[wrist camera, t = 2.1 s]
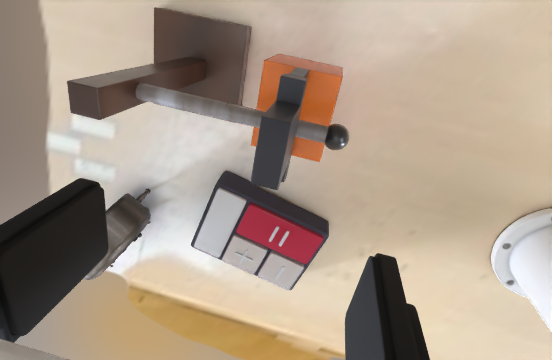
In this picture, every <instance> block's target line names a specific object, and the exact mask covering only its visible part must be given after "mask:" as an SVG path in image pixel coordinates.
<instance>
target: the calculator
mask: <svg viewBox="0 0 552 360" xmlns="http://www.w3.org/2000/svg"><path fill="white" fill-rule="evenodd" d="M328 236H329V224H328V221H326V220H324V219H322V218H320V217H318V216H316V215H314V214H312V213H310V212H307V211H305V210H303V209H301V208H299V207H297V206H295V205H293V204H290V203H288V202H286V201H284V200H282V199H280V198H278V197H276V196H274V195H271V194H269V193H267V192H265V191H263V190H261V189H259V188H257V187H256V186H255V185H254V184H251V182H249V181H247V180H245V179H243V178H241V177H239V176H237V175H235V174H233V173H230V172H228V171H225V172H224V173H223V174H222V176H221V177H220V179H219V180H218V182H217V184H216V185H215V188H214V190H213V192H212V195H211V197H210V200H209V202H208V204H207V207H206V209H205V212H204V214H203V216H202V219H201V221H200V223H199V226H198V228H197V231H196V233H195V235H194V238H193V240H192V243H191V246H192V247H194V248H196V249H198V250H200V251H202V252H205V253H207V254H209V255H211V256H214V257H216V258H218V259H220V260H222V261H224V262H226V263H228V264H230V265H232V266H235V267H237V268H239V269H241V270H243V271H246V272H248V273H250V274H254V275H256V276H258V277H259V278H261V279H264V280H266V281H268V282H270V283H272V284H275V285H277V286H279V287H281V288H284V289H286V290H292V289H293V287H294V286H295V284H296V283H297V281H298V280H299V279H300V277H301V276H302V274H303V273H304V271H305V270H306V268H307V267H308V266H309V264H310V263H311V261H312V260H313V258H314V257H315V256H316V254H317V253H318V251H319V250H320V248H321V247H322V245H323V244H324V243H325V241H326V240H327V238H328Z"/></svg>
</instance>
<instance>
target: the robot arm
mask: <svg viewBox="0 0 552 360" xmlns="http://www.w3.org/2000/svg"><path fill="white" fill-rule="evenodd" d="M108 249H109V244H108V232H107V221H106V209H105V198H104V190H103V188H101V187H100V184H99V183H98V182H95V181H91V180H87V179H84V178H79V179H77V180H75V181H74V182H72V183H70V184H69V185H67V186H65V187H64V188H62V189H60V190H59V191H57V192H55V193H54V194H52V195H50V196H49V197H47V198H45V199H44V200H42V201H40V202H38V203H37V204H35V205H33V206H32V207H30V208H28V209H27V210H25V211H23V212H22V213H20V214H18V215H16V216H15V217H14V218H12V219H10V220H8V221H7V222H5V223H3V224H1V225H0V360H69V359H66V358H62V357H59V356H56V355H53V354H49V353H46V352H42V351H39V350H36V349H32V348H29V347H26V346H22V345H19V344H15V343H14V342H15V341H16V340H17V339H18V338H19V337H20V336H24V335H26V334H27V333H29V332H30V331H31V330H32V329H33V328H34V327H35V326H36V325H37V324H38V323H39V322H40V321H41V320H42V319H43V318H44V317H45V316H46V315H47V314H48V313H49V312H50V311H51V310H52V309H53V308H54V307H55V306H56V305H57V304H58V303H59V302H60V301H61V300H62V299H63V298H64V297H65V296H66V295H67V294H68V293H69V292H70V291H71V290H72V289H73V288H74V287H75V286H76V285H77V284H78V283H79V282H80V281H81V280H82V279H83V278H84V277H85V276H86V275H87V274H88V273H89V272H90V271H91V270H92V269H93V268H94V267H95V266H96V265H97V264H98V263H99V262H100V261H101V260H102V259H103V258H104V257H105V256H106V254H107V252H108ZM491 264H492V268H493V270H494V272H495V274H496V276H497V277H498V279H499V281H500V282H501V283H502V284H503V285H504V286H505V287H507V288H508V289H509V290H511V291H512V292H514V293H517V294H519V295H521V296H525V297H528V299H529V300H530V302H531V303H532V304H533V306H534V307H535V309H536V310H537V312H538V313H539V315H540V316H541V318H542V319H543V321H544V322H545V324H546V325H547V327H548V328H549V330H550V331H551V333H552V208H549V209H544V210H540V211H537V212H534V213H531V214H529V215H527V216H525V217H523V218H521V219H519V220H517V221H516V222H514V223H513V224H511V225H510V226H509V227H508V228H507V229H505V230H504V231H503V232H502V233H501V235H500V236H499V237H498V239H497V240H496V242H495V244H494V246H493V249H492V253H491ZM345 355H346V360H430V358H429V354H428V351H427V347H426V343H425V340H424V336H423V332H422V328H421V325H420V321H419V317H418V313H417V310H416V308H415V307H414V306H413V305H411V304H407V303H406V299H405V294H404V290H403V286H402V282H401V278H400V273H399V269H398V265H397V261H396V258H394V257H391V256H387V255H383V254H379V253H377V254H376V255H375V257H373V256H370V257H369V258H368V260H367V263H366V265H365V268H364V270H363V273H362V275H361V278H360V280H359V283H358V285H357V288H356V290H355V293H354V295H353V298H352V300H351V303H350V305H349V308H348V310H347V313H346V318H345Z"/></svg>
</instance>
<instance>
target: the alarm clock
mask: <svg viewBox="0 0 552 360" xmlns="http://www.w3.org/2000/svg"><path fill="white" fill-rule="evenodd" d="M149 193H150V190H149V189H146V191H145V192H144V193H142V194H141V195H140V196H139V197H138V198H137V199H135V198H134V197H132V196H131V195H130V194H125V195H124V196H123V197H121V198H120V199H119V200H118V201H117V202H116V203H114V204H113V205H112V206H111V207H110V208H109V209H108V210H107V211H106V221H107V232H108V244H109V249H108V252H107V254H106V256H105V257H104V258H103V259H102V260H101V261H100V262H99V263H98V264H97V265H96V266H95V267H94V268H93V269H92V270H91V271H90V272H89V273H88V274H87V275H86V276H85V277H84V278H83V279H86V280H90V279H94V278H96V277H98V276H99V275H101V274H102V273H103V272H104V271H105V270H106V269H107V268H108V267H109V266H111V267H113V265H111V264H112V263H114V262H115V260H116V259H117V258H118V257H119V256H120V255H121V253H123V252H124V251H125V250H126V248H127V247H128V246H129V245H130V244H131V243H132V241H134V242H135V241H136V240H137V238H138V237H141V236H142V234H141V233H140V232H141V231H142V230H143V229H144V228H145V226H146V225H147V224H149V223H150V221H149V220H150V216H151V215H150V211H149V210H148V209H147V208H146V207H144V206H143V205H142V204H141V202H142V200H143V199H144V198H145V197H146V195H147V194H149Z"/></svg>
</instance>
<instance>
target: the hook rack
mask: <svg viewBox="0 0 552 360" xmlns="http://www.w3.org/2000/svg"><path fill="white" fill-rule="evenodd" d="M250 34H251V27H250V26H245V25H240V24H235V23H230V22H226V21H221V20H216V19H211V18H207V17H202V16H197V15H192V14H187V13H183V12H178V11H173V10H168V9H164V8H156V7H155V8H154V64H150V65H145V66H140V67H135V68H130V69H125V70H120V71H115V72H110V73H105V74H100V75H95V76H90V77H85V78H80V79H75V80H70V81H67V84H68V93H69V101H70V110H71V113H73V114H77V115H81V116H86V117H90V118H94V119H98V120H101V119H104V118H106V117H109V116H111V115H114V114H117V113H119V112H122V111H124V110H127V109H130V108H132V107H135V106H137V105H140V104H142V103H145V102H152V103H155V104H159V105H163V106H168V107H172V108H176V109H180V110H184V111H189V112H193V113H197V114H201V115H205V116H210V117H214V118H218V119H222V120H226V121H231V122H235V123H240V124H245V125H249V126H253V127H257V128H260V122H261V117H262V115H263V114H264V113H265V111H260V110H256V109H252V108H248V107H243V106H241V103H242V95H243V88H244V80H245V72H246V65H247V57H248V49H249V42H250ZM295 137H299V138H304V139H308V140H312V141H316V142H320V143H324V144H325V145H326V147H328V148H329V149H331V150H340V149H342V148H344V147H345V146H346V145H347V143H348V141H349V133H348V130H347V129H346V128H345V127H344V126H343V125H340V124H332V125H330V126H325V125H321V124H316V123H312V122H308V121H303V120H299V122H298V126H297V131H296V136H295Z"/></svg>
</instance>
